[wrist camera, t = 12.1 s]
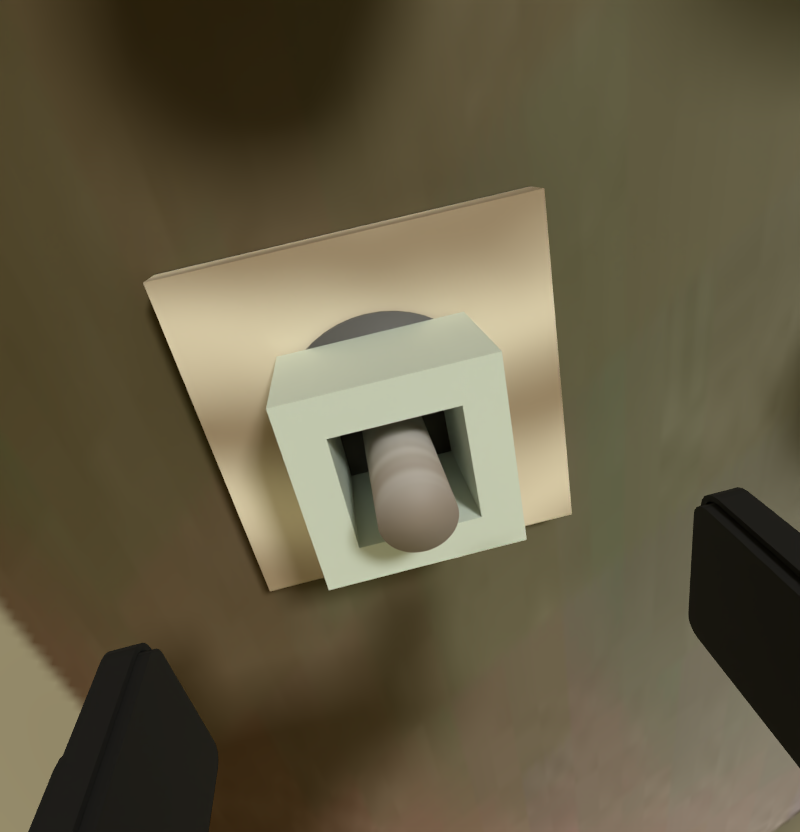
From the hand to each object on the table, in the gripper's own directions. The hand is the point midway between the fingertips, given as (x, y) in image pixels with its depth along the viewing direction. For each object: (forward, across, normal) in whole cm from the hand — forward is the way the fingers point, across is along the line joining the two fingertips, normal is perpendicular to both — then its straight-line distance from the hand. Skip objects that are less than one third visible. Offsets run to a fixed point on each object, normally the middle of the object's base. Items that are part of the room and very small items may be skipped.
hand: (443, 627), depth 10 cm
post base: (+11, 0, +1) cm, 11 cm away
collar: (+10, 0, +1) cm, 10 cm away
